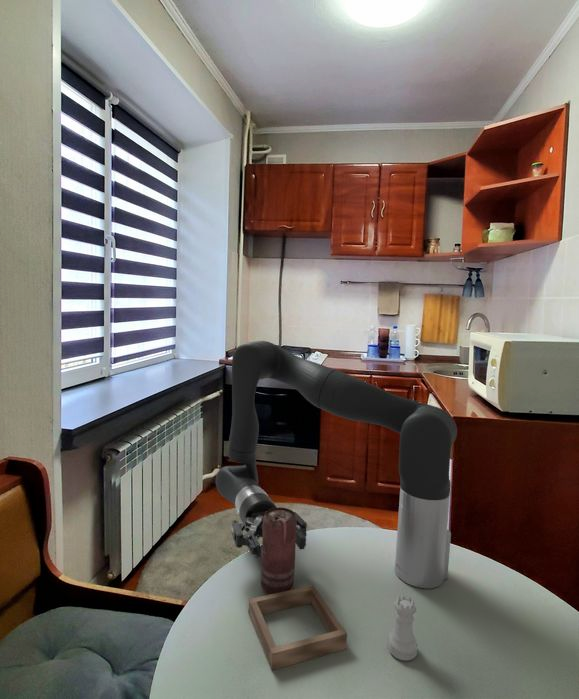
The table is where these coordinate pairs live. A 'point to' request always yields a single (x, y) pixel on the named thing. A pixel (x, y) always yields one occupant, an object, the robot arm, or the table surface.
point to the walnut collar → (301, 648)
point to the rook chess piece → (403, 631)
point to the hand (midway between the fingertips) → (281, 548)
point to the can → (278, 550)
